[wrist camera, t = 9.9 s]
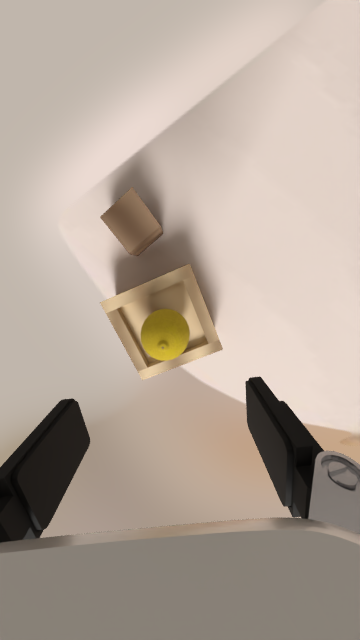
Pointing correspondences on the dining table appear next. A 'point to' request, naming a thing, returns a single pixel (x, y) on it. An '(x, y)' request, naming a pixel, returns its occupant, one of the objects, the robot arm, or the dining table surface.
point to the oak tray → (154, 295)
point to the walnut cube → (132, 223)
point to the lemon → (165, 334)
